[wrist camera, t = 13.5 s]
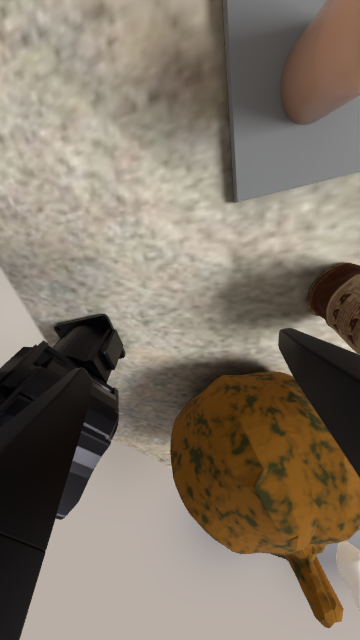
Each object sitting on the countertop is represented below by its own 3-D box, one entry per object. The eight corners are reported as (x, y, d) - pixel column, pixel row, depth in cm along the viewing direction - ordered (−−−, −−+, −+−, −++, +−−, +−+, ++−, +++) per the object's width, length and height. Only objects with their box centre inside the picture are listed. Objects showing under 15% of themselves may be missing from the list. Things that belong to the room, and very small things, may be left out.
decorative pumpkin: (166, 350, 24) (198, 704, 7) (316, 342, 26) (594, 590, 10) (166, 432, 35) (179, 648, 18) (272, 421, 37) (368, 601, 21)
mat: (234, 202, 17) (237, 202, 16) (219, -41, 11) (223, -63, 10) (365, 169, 16) (376, 167, 15) (429, -115, 10) (453, -146, 9)
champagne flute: (309, 480, 48) (412, 684, 27) (332, 481, 49) (449, 680, 28) (296, 490, 51) (379, 680, 31) (318, 491, 52) (413, 676, 32)
